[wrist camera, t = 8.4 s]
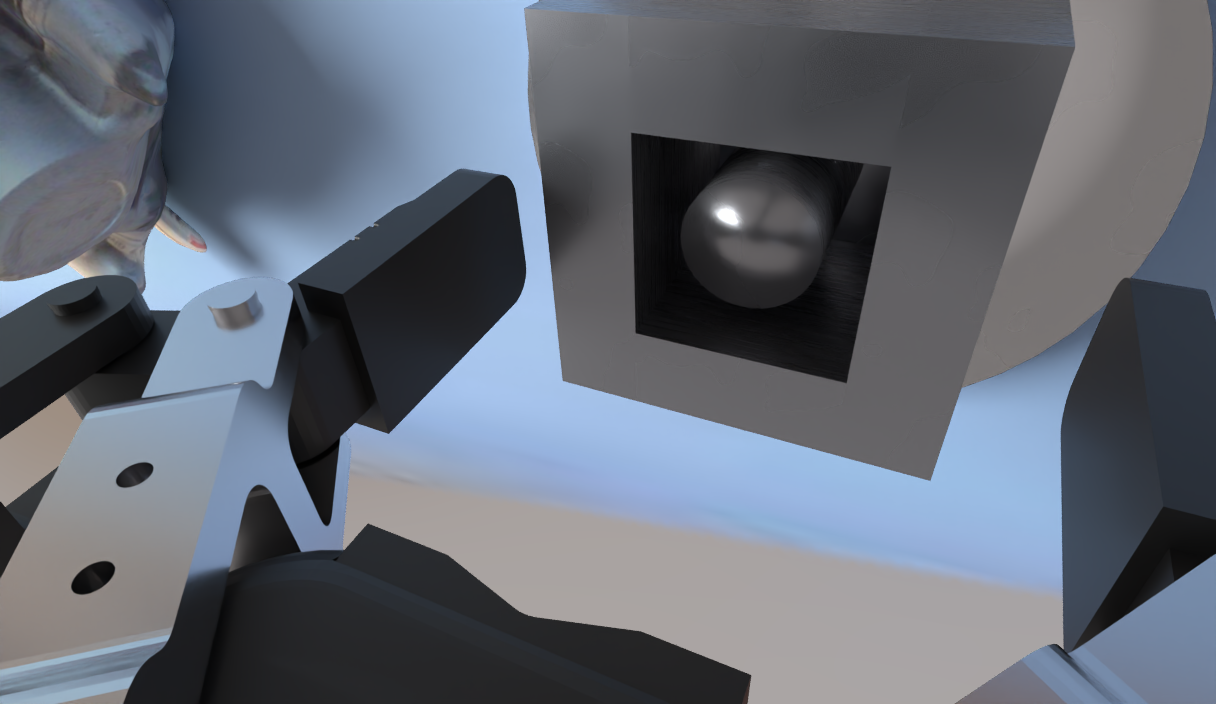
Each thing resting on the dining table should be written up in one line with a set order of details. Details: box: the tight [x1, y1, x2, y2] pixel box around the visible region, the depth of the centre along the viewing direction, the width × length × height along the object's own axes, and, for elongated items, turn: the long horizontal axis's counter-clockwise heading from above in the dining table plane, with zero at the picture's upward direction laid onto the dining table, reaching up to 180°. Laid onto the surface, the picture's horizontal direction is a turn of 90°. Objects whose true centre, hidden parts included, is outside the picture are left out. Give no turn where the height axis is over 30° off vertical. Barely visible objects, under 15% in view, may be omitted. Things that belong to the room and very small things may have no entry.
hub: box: [528, 0, 1213, 388], centre depth 12 cm, size 11×11×5 cm
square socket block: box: [524, 0, 1075, 480], centre depth 11 cm, size 6×6×4 cm
